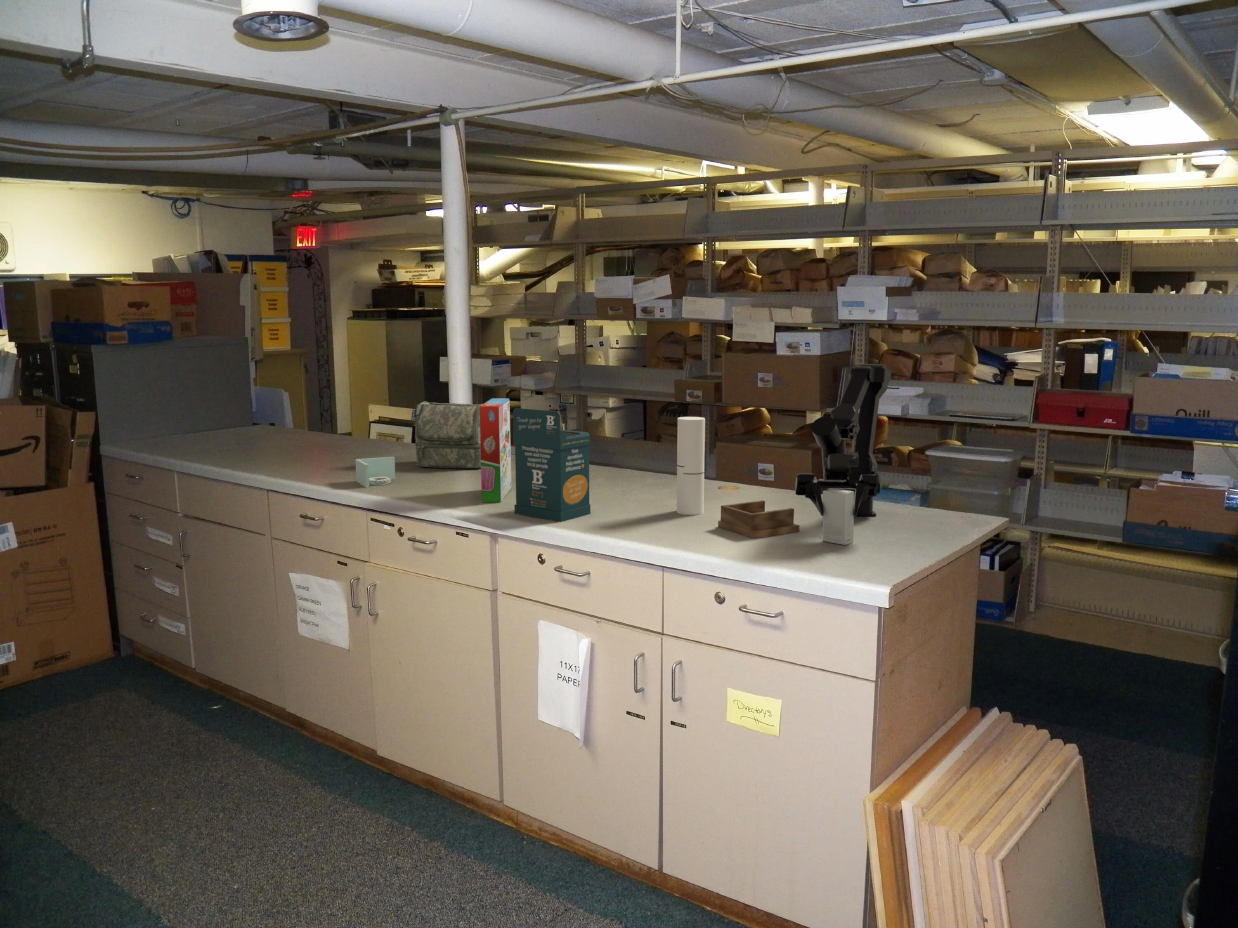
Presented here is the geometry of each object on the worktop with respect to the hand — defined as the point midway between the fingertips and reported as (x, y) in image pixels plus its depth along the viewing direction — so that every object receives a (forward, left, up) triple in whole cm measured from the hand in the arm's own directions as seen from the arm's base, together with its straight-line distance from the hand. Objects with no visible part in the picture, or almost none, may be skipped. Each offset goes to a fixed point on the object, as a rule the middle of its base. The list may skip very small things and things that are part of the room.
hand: (838, 515), depth 215 cm
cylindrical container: (-32, -33, -7) cm, 47 cm away
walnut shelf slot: (-14, -17, -7) cm, 23 cm away
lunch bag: (-104, -112, -7) cm, 153 cm away
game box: (-52, -88, -7) cm, 103 cm away
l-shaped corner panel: (-70, -127, -7) cm, 146 cm away
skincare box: (-1, 0, -7) cm, 7 cm away
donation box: (-30, -68, -7) cm, 75 cm away
